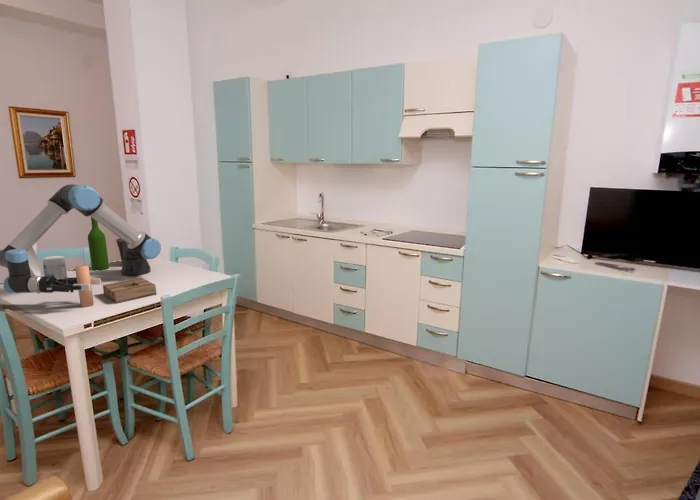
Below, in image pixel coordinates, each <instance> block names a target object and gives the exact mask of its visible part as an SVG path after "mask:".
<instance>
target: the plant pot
mask: <svg viewBox="0 0 700 500" xmlns="http://www.w3.org/2000/svg"><path fill="white" fill-rule="evenodd" d="M115 242H116V244H117V247H118V250H119V255H120V261H121V264H122V266H123V262H124V259H123V251H122V243H121V238H119V237H118V238H116V239H115Z"/></svg>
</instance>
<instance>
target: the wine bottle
mask: <svg viewBox="0 0 700 500" xmlns="http://www.w3.org/2000/svg"><path fill="white" fill-rule="evenodd" d="M90 220H91V221H90V223H91V229H90V231H89V233H88V234H87V243H88V251H89V257H90V264H91V269H92V271H95V270H98V271H104V270H108V269H109V268H110V265H109V263H110V262H109V256H108V248H107V247H108V246H107V240H106V235H105V233H104V232H103V231H102V230H101V229H100V227H99V224H98V223H99V222H98V221H96V220H95V219H94V218H92V217H91V216H90Z"/></svg>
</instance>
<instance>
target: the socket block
mask: <svg viewBox="0 0 700 500" xmlns="http://www.w3.org/2000/svg"><path fill="white" fill-rule="evenodd" d="M102 290H103V291H102V292H103V295H104V296H105V297H106V298H108V299H110V301H112V302H113V303H115V304H121V303H125V302H130V301H133V300H134V301H135V300H138V299H143V298H147V297H152V296H155V295H157V287H156V284H155V283H153V282H150V281H149V280H147V279H146V278H143V277H137V278H131V279H127V280H122V281H116V282H110V283H106V284H102Z"/></svg>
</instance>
